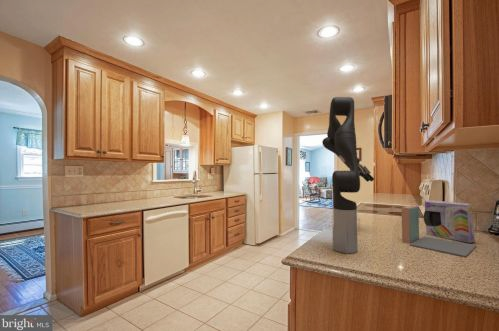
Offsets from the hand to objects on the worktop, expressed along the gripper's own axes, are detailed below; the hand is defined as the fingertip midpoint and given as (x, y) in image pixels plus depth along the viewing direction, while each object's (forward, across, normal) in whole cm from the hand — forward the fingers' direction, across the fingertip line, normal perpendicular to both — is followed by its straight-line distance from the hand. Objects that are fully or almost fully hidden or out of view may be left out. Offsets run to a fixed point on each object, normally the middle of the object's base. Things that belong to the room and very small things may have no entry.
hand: (370, 180), depth 127 cm
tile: (+33, 0, +7) cm, 33 cm away
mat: (+41, 0, -1) cm, 41 cm away
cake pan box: (+40, +18, 0) cm, 44 cm away
